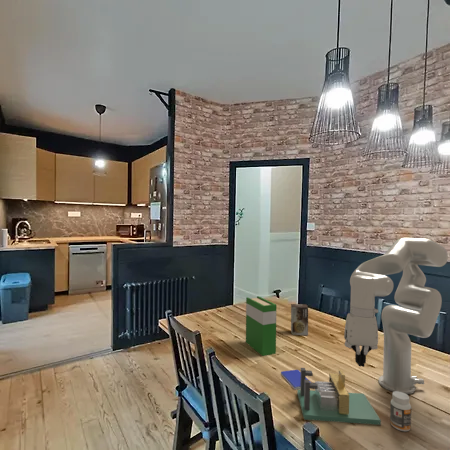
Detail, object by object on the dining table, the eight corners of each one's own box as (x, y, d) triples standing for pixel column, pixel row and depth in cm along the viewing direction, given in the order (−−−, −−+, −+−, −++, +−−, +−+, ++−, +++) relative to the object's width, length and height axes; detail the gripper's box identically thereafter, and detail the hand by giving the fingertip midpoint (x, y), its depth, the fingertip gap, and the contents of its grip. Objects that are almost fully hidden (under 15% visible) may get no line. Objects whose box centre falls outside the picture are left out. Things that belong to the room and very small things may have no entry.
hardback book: (245, 342, 162) (246, 297, 162) (257, 340, 165) (258, 296, 165) (262, 356, 146) (263, 306, 146) (275, 353, 149) (276, 304, 149)
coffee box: (306, 331, 179) (306, 304, 179) (308, 335, 173) (308, 307, 173) (290, 330, 180) (291, 303, 180) (291, 334, 174) (292, 306, 174)
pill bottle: (408, 435, 93) (409, 402, 93) (387, 426, 97) (388, 395, 97) (412, 425, 97) (413, 395, 97) (392, 418, 101) (393, 388, 101)
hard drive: (313, 384, 120) (298, 369, 132) (294, 386, 118) (280, 371, 129) (313, 388, 120) (298, 372, 132) (294, 390, 118) (280, 375, 130)
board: (363, 397, 113) (364, 368, 112) (380, 424, 98) (381, 391, 97) (297, 393, 115) (297, 365, 115) (304, 419, 100) (304, 386, 100)
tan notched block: (337, 390, 113) (337, 362, 113) (349, 414, 99) (349, 382, 99) (328, 390, 114) (329, 362, 114) (339, 414, 100) (340, 382, 100)
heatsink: (337, 394, 111) (337, 380, 111) (345, 412, 102) (345, 395, 101) (314, 393, 112) (315, 378, 112) (320, 410, 102) (321, 394, 102)
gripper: (380, 309, 108) (378, 361, 108) (336, 307, 110) (335, 358, 110) (389, 316, 101) (387, 371, 101) (342, 313, 102) (341, 368, 102)
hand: (360, 364), depth 105 cm, fingers closed
